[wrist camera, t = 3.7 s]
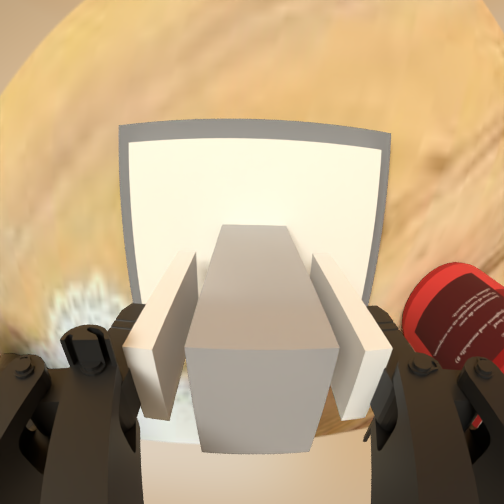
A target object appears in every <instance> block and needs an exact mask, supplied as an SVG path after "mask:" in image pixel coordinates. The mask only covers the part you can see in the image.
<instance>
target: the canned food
mask: <svg viewBox="0 0 504 504" xmlns="http://www.w3.org/2000/svg"><path fill="white" fill-rule="evenodd" d="M402 327H403V333H404V337H405V338H406V340H407V341H408V342H409V344H410V345H411V347H412V348H413V350H414V351H415V352H419V353H424V354H427V355H429V356H431V357H433V358H434V359H435V360H437V361H438V363H439V364H440V366H441V367H442V369H449V370H462V368H463V366H464V364H465V363H466V361H467V359H469V358H471V357H477V356H479V357H484V358H487V359H488V360H490V361H492V362H493V363H494V364H495V365H496V366H497V367H498V368H499V369H500V370H501V371H502V373H503V374H504V287H503V286H502V285H501V284H499V283H498V282H496V281H495V280H494V279H492V278H491V277H489V276H488V275H486V274H485V273H483V272H482V271H481V270H479V269H478V268H476V267H475V266H472V265H470V264H465V263H458V262H452V263H447V264H444V265H442V266H439V267H437V268H436V269H434V270H433V271H431V272H430V273H429V274H428V275H426V276H425V277H424V278H423V279H422V280H421V281H420V282H419V284H418V285H417V286H416V287H415V289H414V290H413V292H412V293H411V295H410V297H409V299H408V301H407V303H406V306H405V309H404V312H403V318H402ZM481 423H482V420H481V418H480V416H479V415H478V416H477V417H476V418H475V420H474V421H473V423H472V425H473V426H474V427H475V428H478V427H479V425H480V424H481Z"/></svg>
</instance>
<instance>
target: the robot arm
mask: <svg viewBox="0 0 504 504" xmlns="http://www.w3.org/2000/svg"><path fill="white" fill-rule="evenodd" d="M310 279H311V281H312V284H313V286H314V288H315V290H316V293H317V295H318V297H319V300H320V302H321V304H322V307H323V309H324V311H325V314H326V316H327V318H328V321H329V323H330V325H331V328H332V330H333V333H334V335H335V337H336V340H337V342H338V345H339V347H340V349H339V353H338V357H337V361H336V365H335V369H334V373H333V376H332V380H331V384H330V385H331V388H332V391H333V395H334V398H335V401H336V405H337V408H338V411H339V415H340V418H341V421H344V420H352V419H359V418H365V416H366V414H367V412H368V410H369V407H370V405H371V408H372V410H373V412H374V415H375V416H374V418H373V420H372V422H371V424H370V426H369V428H368V430H367V432H366V434H365V436H364V440H363V441H364V442H366V441H367V440H368V438H369V436H370V434H371V461H372V462H371V464H372V479H371V480H372V481H371V484H372V485H371V504H504V374H503V373H502V371H501V370H500V369H499V368H498V367H497V366H496V365H495V364H494V363H493V362H492V361H490V360H488V359H487V358H484V357H479V356H477V357H471V358H469V359H467V361H466V363H465V364H464V366H463V368H462V370H449V369H442V367H441V366H440V364H439V363H438V361H437V360H435V359H434V358H433V357H431V356H429V355H427V354H424V353H419V352H415V351H414V350H413V348H412V347H411V345H410V344H409V342H408V341H407V340H406V338H405V337H404V335H403V334H402V333H401V331H400V330H398V327H397V326H396V324H395V323H393V320H392V319H391V317H390V316H389V315H388V313H387V312H385V311H384V310H382V309H381V308H379V307H378V306H365V304H364V303H363V301H362V300H361V298H360V297H359V295H358V294H357V292H356V291H355V290H354V288H353V287H352V285H351V284H350V282H349V281H348V279H347V278H346V276H345V275H344V274H343V272H342V271H341V269H340V268H339V266H338V265H337V264H336V262H335V261H334V259H333V258H332V256H331V255H330V254H324V253H312V263H311V272H310ZM198 299H199V296H198V279H197V259H196V251H178V253H177V254H176V256H175V257H174V259H173V261H172V262H171V264H170V265H169V267H168V269H167V270H166V272H165V274H164V275H163V277H162V278H161V280H160V282H159V283H158V285H157V287H156V288H155V290H154V292H153V293H152V295H151V297H150V298H149V300H148V302H147V304H138V303H132V304H130V305H129V306H127V307H126V308H124V309H123V310H122V311H121V312H120V314H119V315H118V317H117V318H116V321H114V323H113V324H112V326H111V328H110V329H109V330H108V332H107V330H106V329H105V328H103V327H101V326H98V325H90V324H89V325H82V326H78V327H75V328H73V329H71V330H69V331H68V332H66V333H65V334H64V335H63V336H62V338H61V339H60V342H61V344H62V347H63V350H64V352H65V355H66V357H67V360H68V363H69V365H70V367H69V368H60V369H47V367H46V365H45V363H44V361H43V360H42V358H41V357H39V356H37V355H30V354H28V355H23V356H21V355H17V354H12V353H7V354H3V355H1V356H0V504H144V502H143V490H142V476H141V455H140V426H139V423H138V420H137V415H138V412H139V409H140V406H141V409H142V412H143V414H144V417H146V418H152V419H159V420H167V421H170V417H171V412H172V408H173V404H174V400H175V396H176V392H177V388H178V384H179V380H180V376H181V372H182V369H183V365H184V361H185V357H186V355H185V348H184V347H185V343H186V340H187V336H188V333H189V329H190V326H191V323H192V319H193V316H194V312H195V309H196V306H197V302H198ZM478 415H479V416H480V418H481V420H482V423H481V424H480V425H479V427H478V428H475V427H474V426H473V425H472V423H473V421H474V420H475V418H476V417H477V416H478Z"/></svg>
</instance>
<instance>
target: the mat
mask: <svg viewBox="0 0 504 504" xmlns="http://www.w3.org/2000/svg"><path fill="white" fill-rule="evenodd" d="M200 138H250V139H278V140H295V141H309V142H321V143H331V144H341V145H349V146H357V147H365V148H372V149H379V150H381V166H380V178H379V189H378V199H377V207H376V216H375V224H374V231H373V238H372V244H371V251H370V257H369V263H368V269H367V274H366V279H365V285H364V290H363V295H362V299H361V300H362V301H363V303H364V304H365V306H368V303H369V299H370V294H371V289H372V284H373V280H374V274H375V269H376V264H377V258H378V252H379V246H380V240H381V234H382V227H383V220H384V212H385V204H386V195H387V185H388V174H389V161H390V145H391V133H386V132H380V131H374V130H368V129H361V128H354V127H347V126H339V125H331V124H321V123H311V122H299V121H285V120H265V119H192V120H172V121H158V122H147V123H136V124H127V125H119V177H120V196H121V210H122V222H123V233H124V242H125V251H126V259H127V267H128V274H129V280H130V287H131V293H132V299H133V303H138V304H142V300H141V294H140V287H139V280H138V273H137V265H136V257H135V248H134V238H133V227H132V215H131V200H130V180H129V143H131V142H142V141H156V140H173V139H200ZM185 358H186V357H185Z"/></svg>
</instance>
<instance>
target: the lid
mask: <svg viewBox="0 0 504 504" xmlns="http://www.w3.org/2000/svg"><path fill="white" fill-rule="evenodd" d="M380 166H381V150H379V149H372V148H365V147H357V146H349V145H341V144H331V143H321V142H309V141H295V140H278V139H250V138H200V139H173V140H156V141H142V142H131V143H129V180H130V200H131V215H132V227H133V238H134V248H135V257H136V265H137V273H138V280H139V287H140V294H141V300H142V304H147V302H148V300H149V298H150V297H151V295H152V293H153V292H154V290H155V288H156V287H157V285H158V283H159V282H160V280H161V278H162V277H163V275H164V274H165V272H166V270H167V269H168V267H169V265H170V264H171V262H172V261H173V259H174V257H175V256H176V254H177V253H178V251H196V259H197V279H198V296H199V299H198V302H197V306H196V309H195V312H194V316H193V319H192V323H191V326H190V329H189V333H188V336H187V340H186V343H185V347H184V348H185V355H186V363H187V370H188V377H189V383H190V389H191V396H192V402H193V407H194V413H195V419H196V424H197V429H198V435H199V440H200V445H201V449H202V452H208V453H224V454H226V453H227V454H283V453H299V452H309V451H310V448H311V445H312V442H313V439H314V436H315V433H316V430H317V427H318V424H319V421H320V418H321V415H322V411H323V408H324V405H325V401H326V398H327V394H328V391H329V387H330V384H331V380H332V376H333V373H334V369H335V365H336V361H337V357H338V353H339V349H340V347H339V345H338V342H337V340H336V337H335V335H334V333H333V330H332V328H331V325H330V323H329V321H328V318H327V316H326V314H325V311H324V309H323V307H322V304H321V302H320V300H319V297H318V295H317V293H316V290H315V288H314V286H313V284H312V281H311V279H310V272H311V263H312V253H324V254H330V255H331V256H332V258H333V259H334V261H335V262H336V264H337V265H338V266H339V268H340V269H341V271H342V272H343V274H344V275H345V276H346V278H347V279H348V281H349V282H350V284H351V285H352V287H353V288H354V290H355V291H356V292H357V294H358V295H359V297H360V298H361V299H362V295H363V290H364V285H365V279H366V274H367V269H368V263H369V257H370V251H371V244H372V238H373V231H374V224H375V216H376V207H377V199H378V189H379V178H380Z"/></svg>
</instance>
